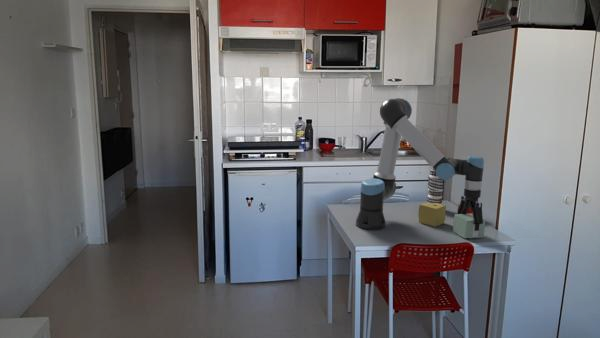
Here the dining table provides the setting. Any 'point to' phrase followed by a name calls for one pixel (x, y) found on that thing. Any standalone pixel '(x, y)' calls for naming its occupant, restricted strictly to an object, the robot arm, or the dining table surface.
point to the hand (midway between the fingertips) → (468, 232)
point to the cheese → (432, 214)
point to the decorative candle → (435, 188)
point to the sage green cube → (466, 226)
